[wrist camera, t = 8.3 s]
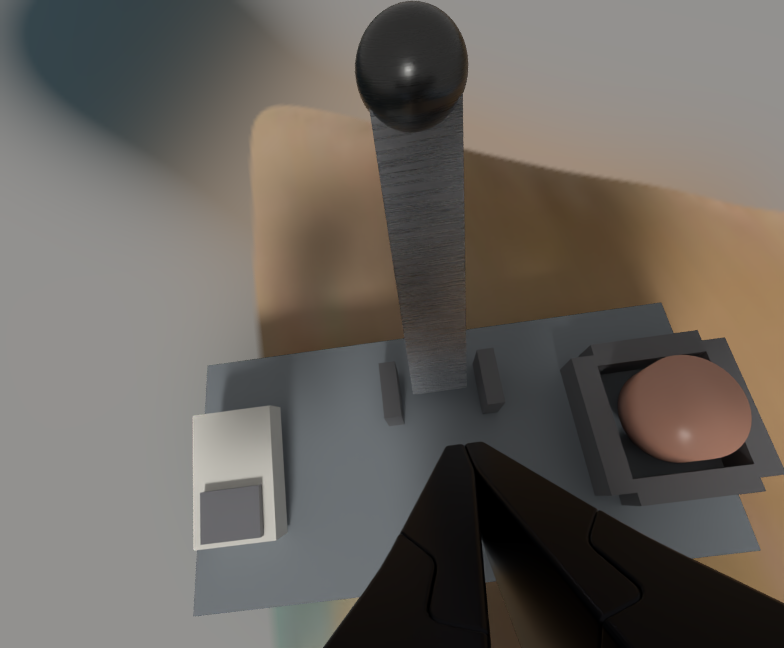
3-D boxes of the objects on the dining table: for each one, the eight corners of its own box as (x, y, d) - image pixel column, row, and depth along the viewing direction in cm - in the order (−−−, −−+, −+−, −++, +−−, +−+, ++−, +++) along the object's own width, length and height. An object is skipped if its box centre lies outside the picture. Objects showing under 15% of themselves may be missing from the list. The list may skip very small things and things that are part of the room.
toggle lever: (475, 401, 15) (480, -3, 7) (409, 410, 15) (343, 20, 7) (463, 353, 17) (455, -14, 9) (403, 361, 17) (345, 5, 9)
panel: (723, 539, 16) (831, 554, 12) (231, 597, 17) (162, 631, 13) (644, 327, 20) (705, 279, 15) (237, 383, 21) (184, 352, 16)
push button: (734, 456, 14) (771, 451, 12) (635, 468, 14) (659, 465, 12) (696, 363, 15) (724, 348, 14) (605, 375, 15) (623, 362, 14)
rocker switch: (287, 531, 15) (273, 542, 14) (210, 541, 15) (188, 553, 14) (280, 407, 16) (266, 405, 15) (209, 417, 16) (188, 415, 15)
